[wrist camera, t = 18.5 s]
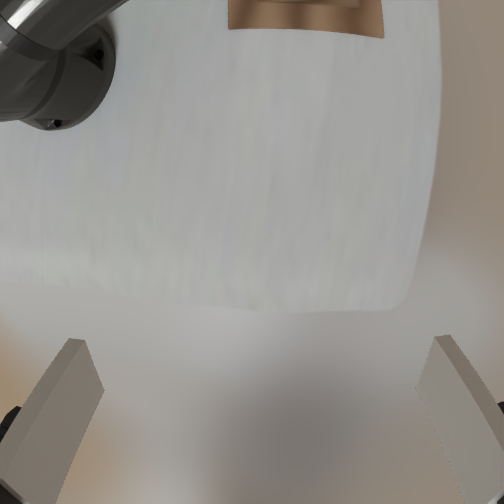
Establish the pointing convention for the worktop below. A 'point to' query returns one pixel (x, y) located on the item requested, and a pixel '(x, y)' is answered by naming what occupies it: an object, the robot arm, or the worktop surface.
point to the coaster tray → (309, 15)
